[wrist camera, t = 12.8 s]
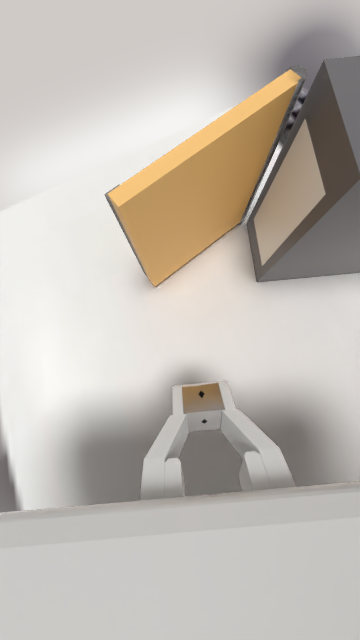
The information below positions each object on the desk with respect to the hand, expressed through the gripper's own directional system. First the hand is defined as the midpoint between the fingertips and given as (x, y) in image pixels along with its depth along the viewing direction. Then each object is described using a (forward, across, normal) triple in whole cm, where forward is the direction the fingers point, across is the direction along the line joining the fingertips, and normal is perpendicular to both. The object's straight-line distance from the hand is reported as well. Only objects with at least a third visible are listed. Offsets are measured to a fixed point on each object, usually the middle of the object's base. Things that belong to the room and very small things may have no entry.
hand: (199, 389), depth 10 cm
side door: (+11, -1, -5) cm, 12 cm away
